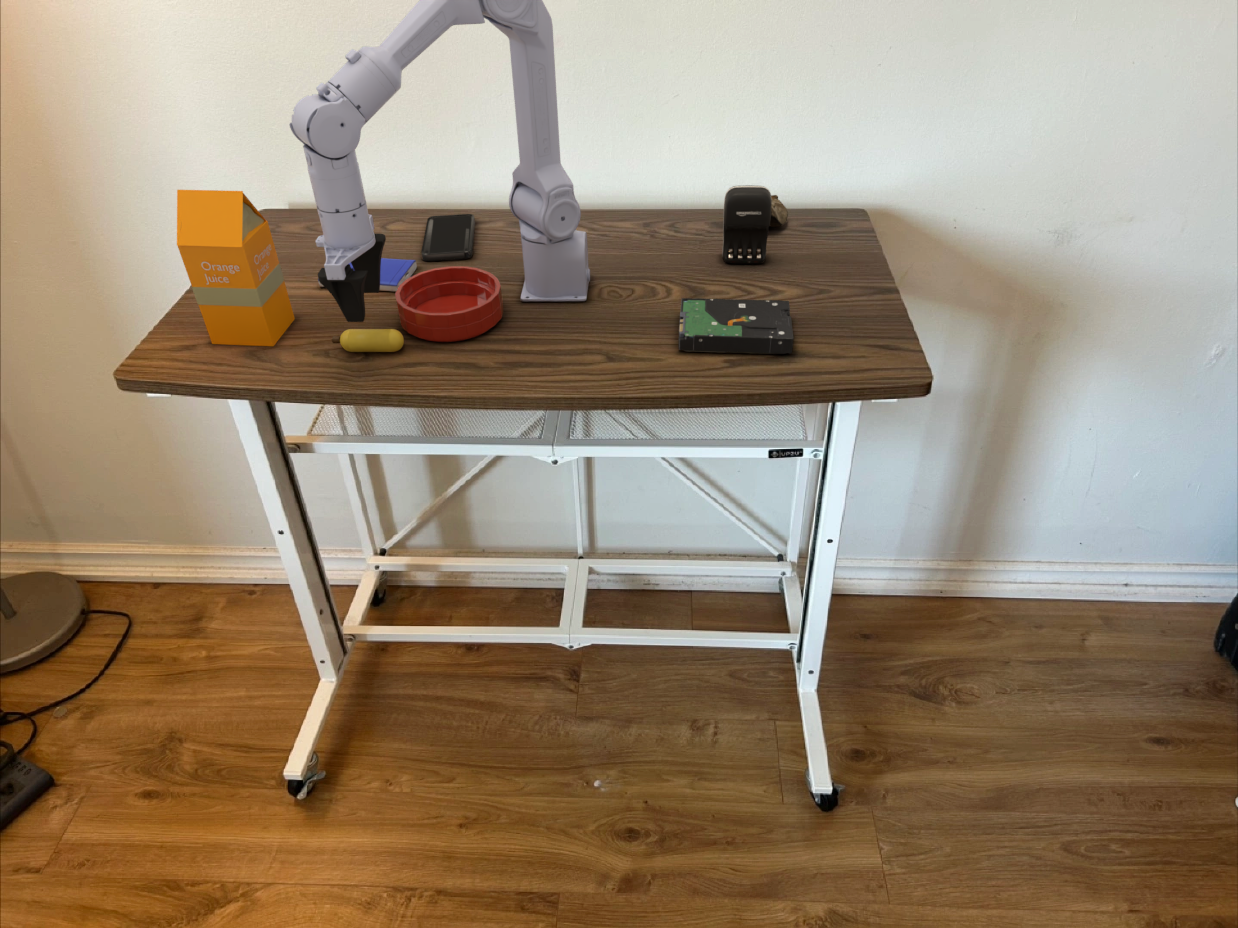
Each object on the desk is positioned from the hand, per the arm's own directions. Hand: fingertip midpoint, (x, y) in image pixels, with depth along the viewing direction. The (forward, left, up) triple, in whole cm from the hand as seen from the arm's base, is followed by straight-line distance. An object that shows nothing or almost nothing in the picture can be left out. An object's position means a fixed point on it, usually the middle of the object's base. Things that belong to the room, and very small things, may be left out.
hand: (363, 305), depth 114 cm
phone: (-4, -34, -7) cm, 35 cm away
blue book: (+6, -21, -7) cm, 23 cm away
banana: (0, 0, -7) cm, 7 cm away
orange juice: (+18, -5, -7) cm, 20 cm away
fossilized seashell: (-54, -39, -7) cm, 67 cm away
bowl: (-9, -9, -7) cm, 14 cm away
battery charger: (-51, -26, -7) cm, 58 cm away
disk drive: (-48, -4, -7) cm, 49 cm away
